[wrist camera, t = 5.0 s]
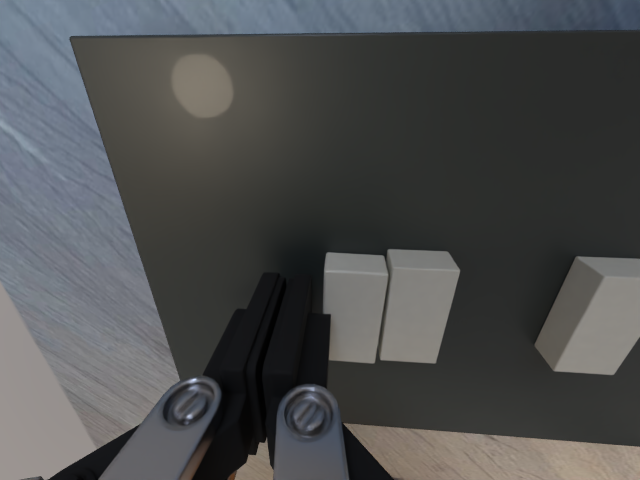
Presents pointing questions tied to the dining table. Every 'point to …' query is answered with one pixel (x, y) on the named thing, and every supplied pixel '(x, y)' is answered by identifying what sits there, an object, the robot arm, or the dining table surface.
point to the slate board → (387, 197)
